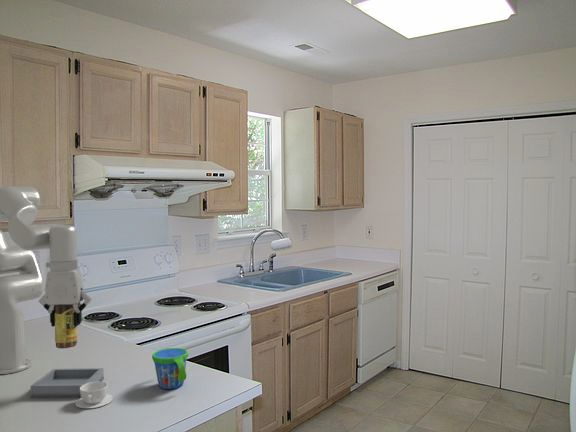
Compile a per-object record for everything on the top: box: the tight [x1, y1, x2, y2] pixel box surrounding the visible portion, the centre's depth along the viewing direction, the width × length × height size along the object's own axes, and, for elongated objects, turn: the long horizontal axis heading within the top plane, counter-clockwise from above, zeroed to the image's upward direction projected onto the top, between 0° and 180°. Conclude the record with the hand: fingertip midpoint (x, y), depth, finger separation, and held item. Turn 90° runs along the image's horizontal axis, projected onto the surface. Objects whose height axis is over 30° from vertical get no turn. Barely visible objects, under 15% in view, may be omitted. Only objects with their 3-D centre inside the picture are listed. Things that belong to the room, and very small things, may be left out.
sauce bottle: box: [54, 305, 79, 350], centre depth 151 cm, size 6×6×20 cm
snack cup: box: [151, 347, 189, 390], centre depth 153 cm, size 16×10×10 cm
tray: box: [30, 367, 105, 399], centre depth 152 cm, size 16×14×4 cm
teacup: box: [75, 381, 114, 409], centre depth 142 cm, size 10×10×5 cm
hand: (66, 324), depth 151 cm, fingers closed on sauce bottle, 6 cm apart
